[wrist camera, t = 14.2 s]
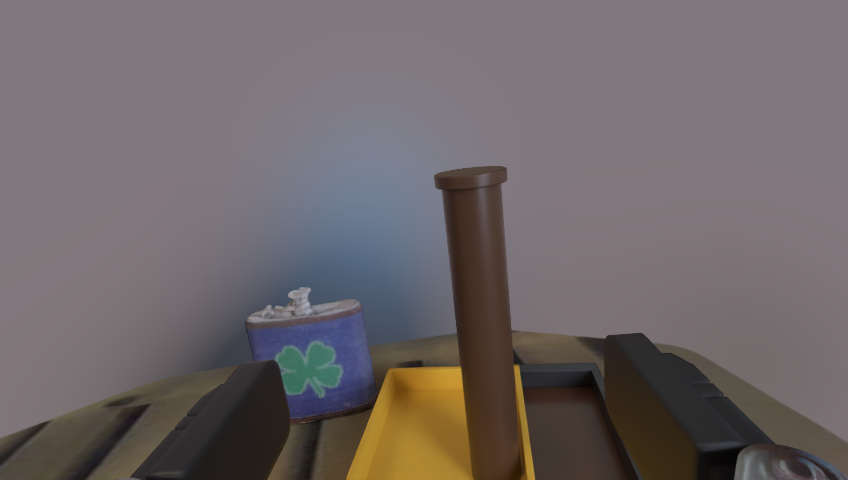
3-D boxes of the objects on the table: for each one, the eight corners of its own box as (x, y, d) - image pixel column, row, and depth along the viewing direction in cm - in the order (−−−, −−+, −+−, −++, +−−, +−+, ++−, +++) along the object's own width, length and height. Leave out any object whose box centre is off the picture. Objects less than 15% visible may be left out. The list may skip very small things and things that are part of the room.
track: (284, 710, 16) (271, 666, 16) (392, 393, 35) (388, 367, 35) (753, 766, 14) (760, 715, 13) (596, 390, 33) (596, 362, 32)
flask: (379, 391, 36) (359, 275, 33) (377, 413, 33) (355, 288, 30) (271, 406, 36) (243, 290, 33) (260, 430, 33) (228, 305, 30)
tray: (311, 636, 18) (205, 226, 13) (392, 394, 33) (357, 170, 29) (556, 656, 16) (532, 196, 11) (520, 392, 32) (504, 153, 27)
